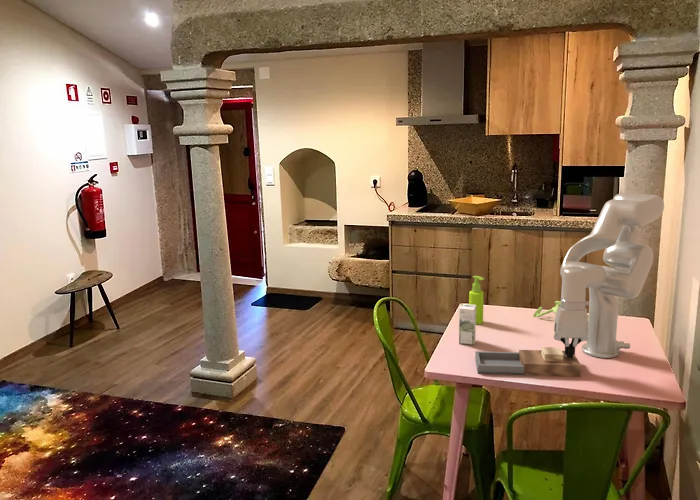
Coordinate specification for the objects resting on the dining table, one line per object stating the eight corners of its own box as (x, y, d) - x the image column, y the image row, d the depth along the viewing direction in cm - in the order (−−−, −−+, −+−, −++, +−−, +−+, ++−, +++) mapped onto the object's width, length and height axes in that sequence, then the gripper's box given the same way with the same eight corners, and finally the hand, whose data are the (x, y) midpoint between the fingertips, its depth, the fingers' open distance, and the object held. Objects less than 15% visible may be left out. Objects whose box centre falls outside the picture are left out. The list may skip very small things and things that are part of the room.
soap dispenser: (476, 326, 239) (477, 279, 235) (465, 321, 245) (466, 275, 241) (487, 323, 242) (488, 277, 237) (476, 318, 248) (477, 273, 243)
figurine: (562, 309, 258) (563, 297, 257) (609, 328, 234) (610, 315, 232) (528, 315, 251) (529, 303, 250) (572, 335, 227) (573, 322, 226)
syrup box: (475, 339, 225) (476, 304, 222) (473, 345, 219) (474, 309, 216) (460, 338, 227) (461, 303, 224) (458, 344, 221) (458, 307, 218)
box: (518, 360, 205) (519, 352, 205) (523, 375, 194) (524, 366, 193) (475, 359, 207) (475, 351, 207) (477, 373, 196) (477, 365, 195)
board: (572, 361, 203) (572, 351, 202) (580, 376, 191) (581, 365, 190) (518, 360, 205) (519, 349, 204) (523, 375, 194) (524, 363, 193)
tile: (559, 354, 200) (559, 347, 199) (563, 361, 194) (563, 354, 193) (541, 353, 200) (541, 347, 200) (544, 360, 195) (544, 354, 194)
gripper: (593, 301, 195) (589, 352, 199) (547, 300, 197) (544, 351, 201) (599, 308, 187) (595, 361, 191) (551, 307, 189) (548, 360, 193)
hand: (569, 356), depth 196 cm, fingers closed
